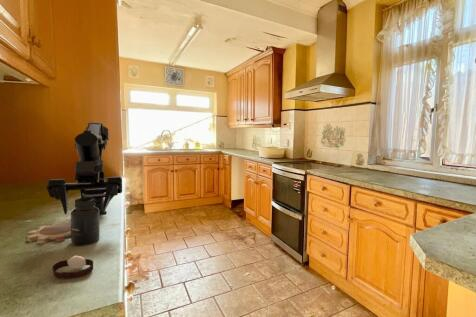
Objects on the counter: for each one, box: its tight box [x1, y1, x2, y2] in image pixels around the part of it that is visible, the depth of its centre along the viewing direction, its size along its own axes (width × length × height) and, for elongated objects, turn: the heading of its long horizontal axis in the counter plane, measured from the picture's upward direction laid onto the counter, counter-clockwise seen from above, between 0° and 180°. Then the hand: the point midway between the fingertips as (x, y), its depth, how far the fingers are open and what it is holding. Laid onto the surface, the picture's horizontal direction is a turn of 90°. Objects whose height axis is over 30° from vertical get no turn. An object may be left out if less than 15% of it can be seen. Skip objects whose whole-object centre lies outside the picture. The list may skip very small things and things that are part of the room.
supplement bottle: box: [70, 197, 101, 247], centre depth 67 cm, size 7×7×12 cm
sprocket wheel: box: [26, 220, 71, 244], centre depth 73 cm, size 14×14×1 cm
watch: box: [51, 255, 94, 280], centre depth 52 cm, size 8×5×4 cm, turn 99°
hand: (85, 211), depth 67 cm, fingers open, 9 cm apart
